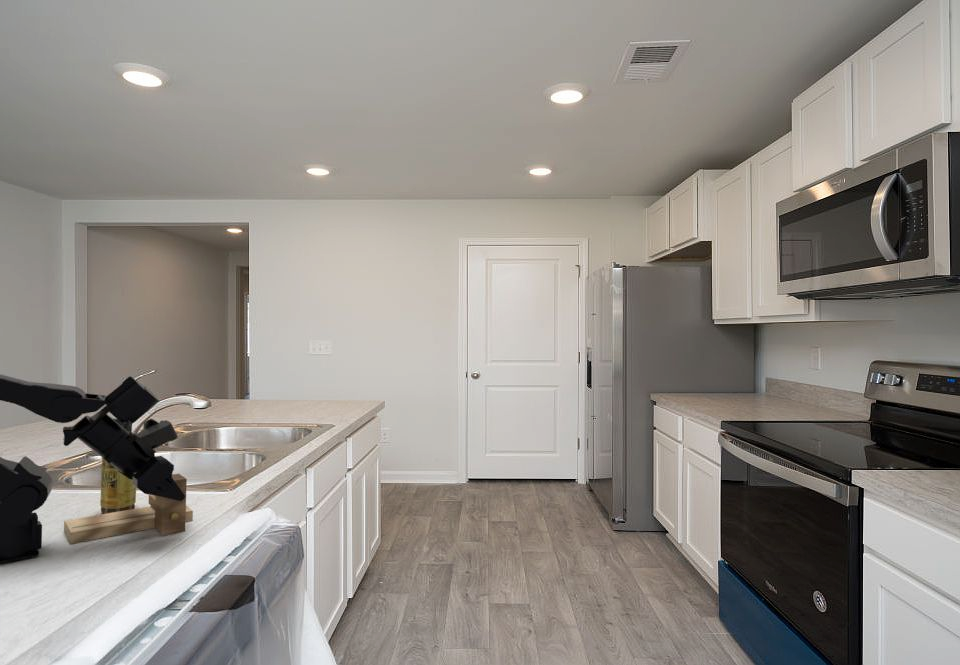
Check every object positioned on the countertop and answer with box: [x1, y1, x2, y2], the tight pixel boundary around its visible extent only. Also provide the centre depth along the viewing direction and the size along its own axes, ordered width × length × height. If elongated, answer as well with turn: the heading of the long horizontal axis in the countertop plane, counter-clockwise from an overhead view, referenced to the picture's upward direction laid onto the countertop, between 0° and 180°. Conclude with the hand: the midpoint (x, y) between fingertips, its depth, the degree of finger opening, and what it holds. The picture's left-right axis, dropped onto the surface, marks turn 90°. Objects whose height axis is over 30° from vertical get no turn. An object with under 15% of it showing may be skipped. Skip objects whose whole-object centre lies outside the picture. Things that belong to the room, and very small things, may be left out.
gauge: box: [148, 473, 188, 537], centre depth 112 cm, size 4×15×10 cm, turn 43°
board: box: [63, 505, 194, 545], centre depth 110 cm, size 20×8×2 cm, turn 133°
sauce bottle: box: [99, 415, 137, 514], centre depth 118 cm, size 7×6×20 cm
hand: (176, 493), depth 109 cm, fingers open, 9 cm apart
